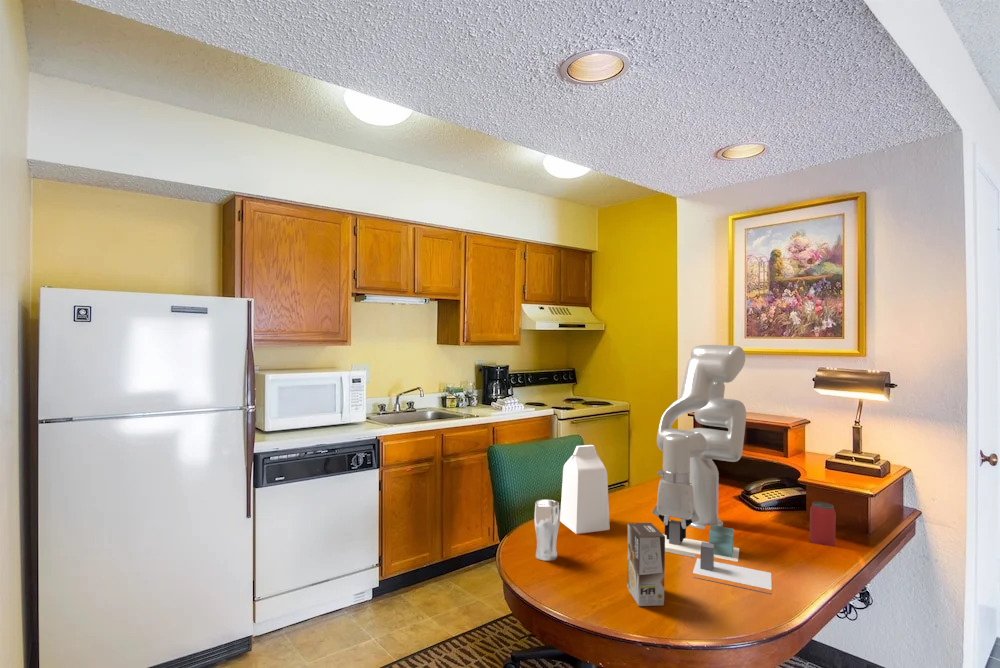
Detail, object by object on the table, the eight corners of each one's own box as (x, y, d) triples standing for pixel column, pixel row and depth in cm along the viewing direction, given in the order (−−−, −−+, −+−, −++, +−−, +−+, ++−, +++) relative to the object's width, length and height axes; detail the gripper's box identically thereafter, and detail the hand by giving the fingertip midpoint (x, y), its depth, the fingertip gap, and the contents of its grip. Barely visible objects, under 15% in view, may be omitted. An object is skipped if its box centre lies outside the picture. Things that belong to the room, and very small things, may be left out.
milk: (576, 534, 161) (577, 450, 161) (559, 521, 172) (561, 443, 172) (609, 529, 165) (610, 448, 165) (591, 517, 176) (592, 441, 176)
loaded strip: (654, 549, 150) (654, 524, 150) (660, 537, 159) (660, 514, 159) (737, 566, 140) (738, 539, 140) (739, 552, 149) (739, 527, 149)
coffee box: (665, 606, 119) (666, 536, 119) (638, 607, 119) (639, 537, 119) (650, 586, 128) (651, 522, 128) (625, 587, 128) (626, 522, 128)
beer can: (839, 549, 152) (839, 509, 152) (814, 547, 154) (815, 507, 154) (829, 540, 159) (830, 501, 159) (806, 538, 160) (806, 500, 160)
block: (708, 553, 145) (709, 531, 145) (710, 545, 150) (711, 524, 150) (732, 557, 142) (732, 535, 142) (733, 549, 148) (733, 528, 147)
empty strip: (692, 577, 133) (693, 549, 133) (697, 562, 142) (697, 536, 142) (771, 594, 124) (772, 565, 124) (771, 577, 133) (771, 549, 133)
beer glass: (561, 553, 147) (561, 500, 147) (555, 563, 140) (556, 508, 140) (537, 549, 149) (538, 497, 149) (530, 559, 143) (531, 505, 143)
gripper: (645, 475, 152) (644, 538, 152) (704, 484, 145) (703, 549, 145) (650, 470, 159) (649, 529, 159) (707, 477, 151) (706, 540, 152)
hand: (675, 538), depth 152 cm, fingers closed on loaded strip, 3 cm apart
